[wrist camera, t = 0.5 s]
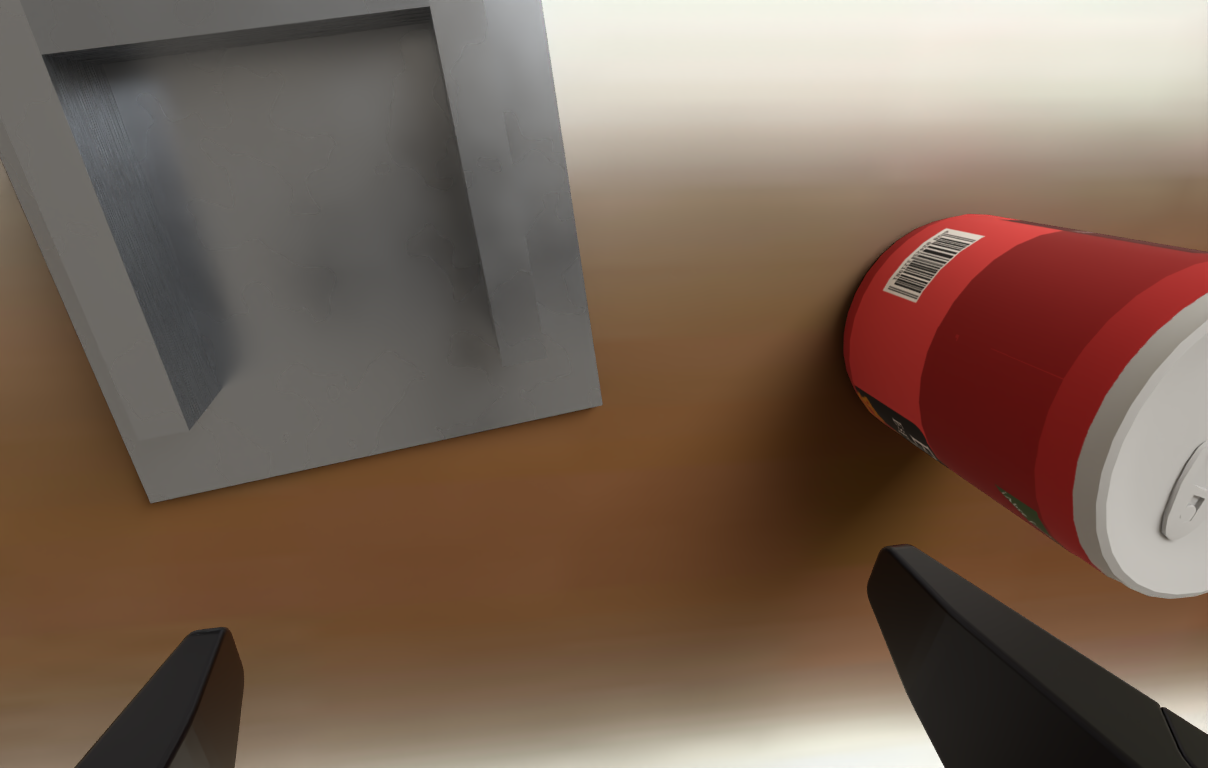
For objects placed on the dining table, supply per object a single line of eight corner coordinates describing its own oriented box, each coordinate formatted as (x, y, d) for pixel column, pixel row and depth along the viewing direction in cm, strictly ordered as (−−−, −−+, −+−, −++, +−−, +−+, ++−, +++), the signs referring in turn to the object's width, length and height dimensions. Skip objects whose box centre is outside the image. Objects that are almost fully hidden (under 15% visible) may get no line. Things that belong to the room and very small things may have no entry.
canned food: (815, 423, 26) (1051, 612, 16) (863, 200, 24) (1178, 261, 14) (991, 424, 28) (1301, 595, 18) (1053, 218, 26) (1454, 283, 16)
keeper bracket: (599, 399, 24) (624, 442, 21) (156, 495, 22) (109, 559, 19) (511, -177, 18) (528, -240, 15) (-109, -123, 16) (-245, -183, 13)
